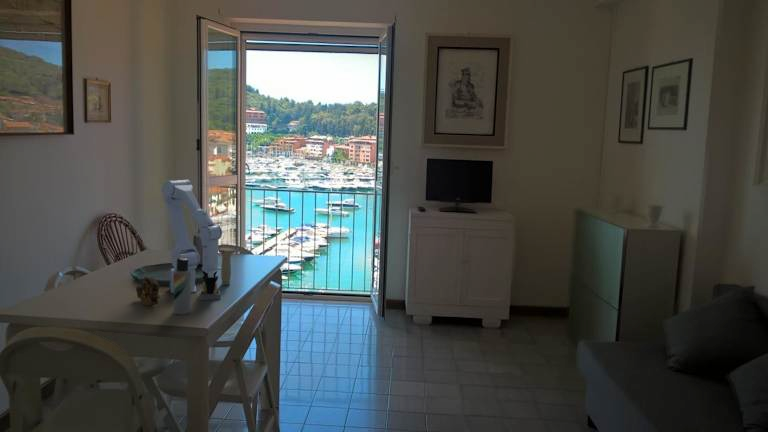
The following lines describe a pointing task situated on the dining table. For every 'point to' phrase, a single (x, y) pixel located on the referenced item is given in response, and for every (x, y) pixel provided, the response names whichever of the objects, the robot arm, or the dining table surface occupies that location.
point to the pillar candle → (198, 246)
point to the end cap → (209, 296)
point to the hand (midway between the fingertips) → (209, 291)
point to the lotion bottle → (182, 287)
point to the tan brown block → (206, 290)
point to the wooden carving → (148, 291)
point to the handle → (226, 265)
